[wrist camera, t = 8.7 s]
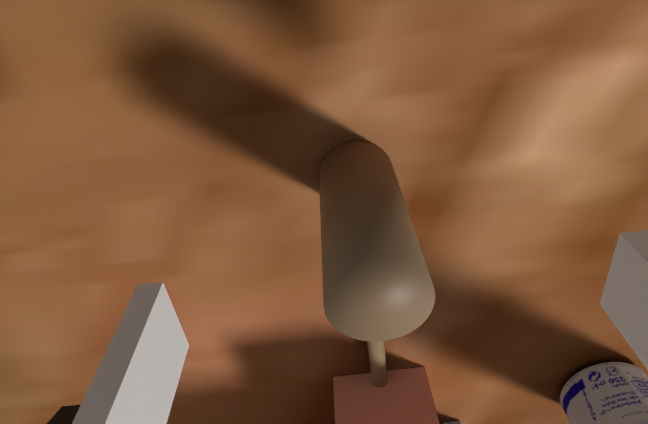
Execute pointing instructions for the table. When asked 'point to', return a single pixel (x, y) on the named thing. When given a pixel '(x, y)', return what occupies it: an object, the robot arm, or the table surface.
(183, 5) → the table surface
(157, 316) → the robot arm
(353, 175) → the block
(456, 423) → the box
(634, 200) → the table surface
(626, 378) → the beverage can
